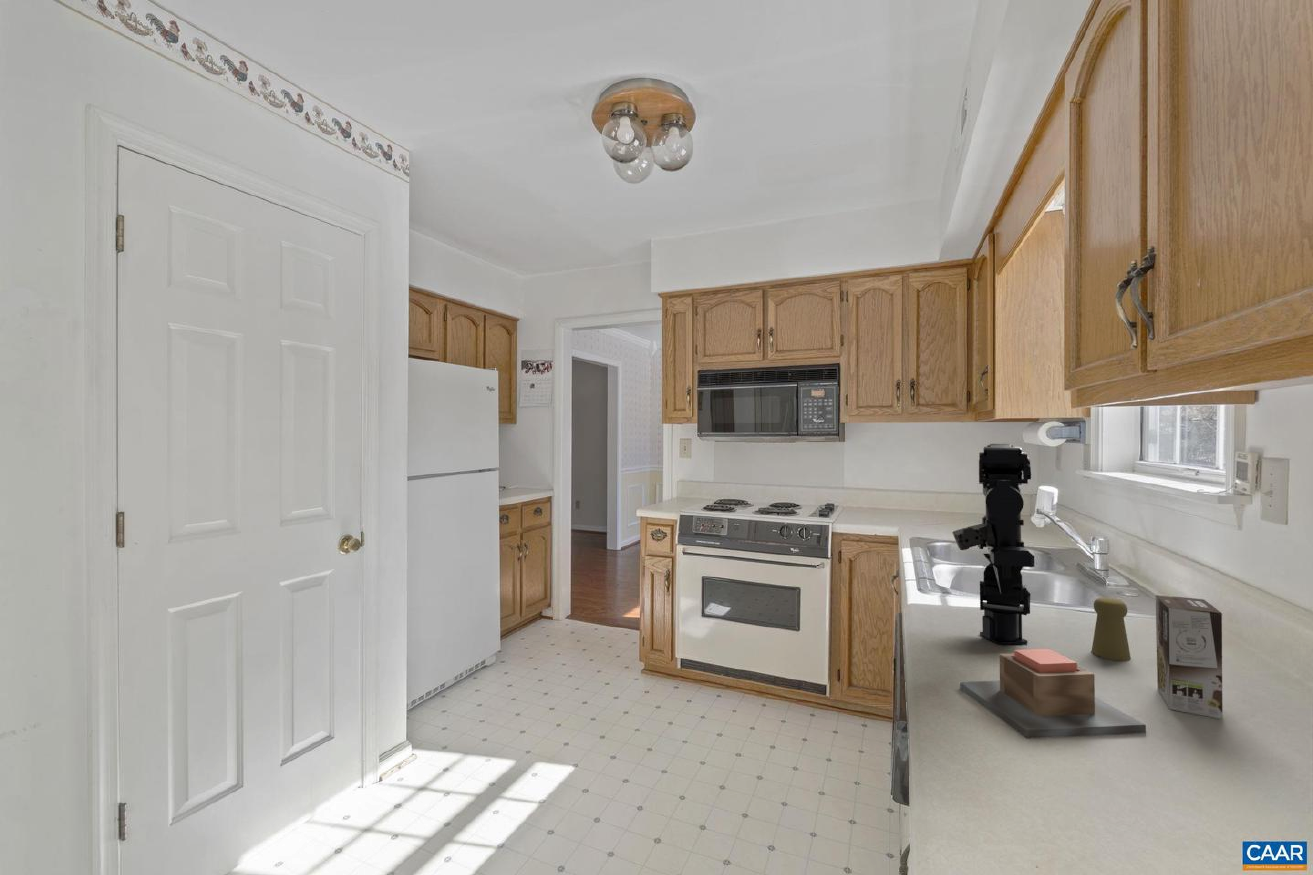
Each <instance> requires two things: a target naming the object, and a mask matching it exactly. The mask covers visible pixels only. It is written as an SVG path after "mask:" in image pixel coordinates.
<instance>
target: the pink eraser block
mask: <svg viewBox="0 0 1313 875" xmlns="http://www.w3.org/2000/svg"><path fill="white" fill-rule="evenodd" d="M1013 653H1014V659H1016V660H1018V661H1020V662H1021V663H1023V664H1025V665H1027V666H1029V667H1030V668H1032V669H1034V670H1036V671H1038V672H1039V673H1051V672H1077V666H1078V663H1077V662H1076V661H1074V660H1072V659H1070V658H1068V657H1066V656H1064V655H1062V654H1060V653H1058V652H1056V651H1053V650H1052V649H1050V648H1035V649H1034V648H1031V649H1028V648H1027V649H1014V652H1013Z"/></svg>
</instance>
